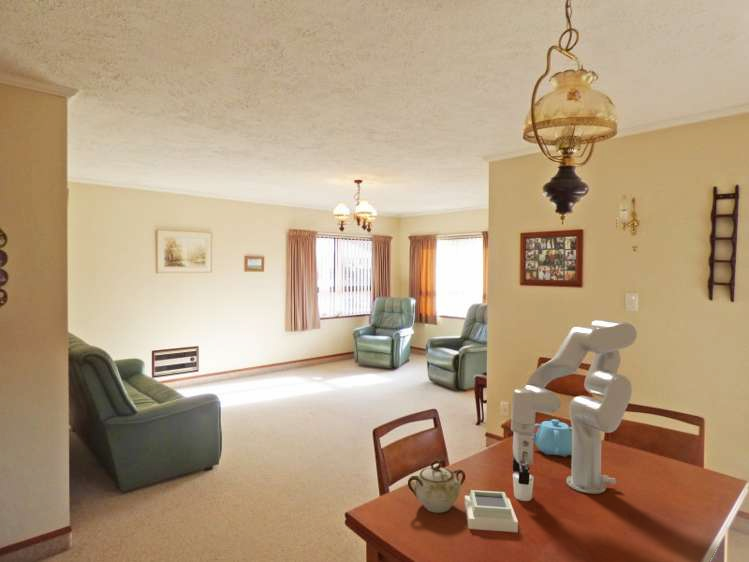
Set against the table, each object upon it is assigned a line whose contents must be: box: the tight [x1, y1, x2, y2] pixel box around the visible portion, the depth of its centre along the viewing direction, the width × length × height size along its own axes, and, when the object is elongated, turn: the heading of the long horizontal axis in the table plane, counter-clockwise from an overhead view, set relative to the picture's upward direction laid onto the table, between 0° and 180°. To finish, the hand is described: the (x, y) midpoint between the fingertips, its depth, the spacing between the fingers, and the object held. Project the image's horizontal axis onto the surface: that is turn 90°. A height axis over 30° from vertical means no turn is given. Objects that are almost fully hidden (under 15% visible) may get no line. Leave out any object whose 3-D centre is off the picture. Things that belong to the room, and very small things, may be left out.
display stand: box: [464, 489, 519, 533], centre depth 137 cm, size 14×14×6 cm
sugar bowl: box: [407, 459, 466, 514], centre depth 144 cm, size 20×15×15 cm
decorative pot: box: [532, 418, 572, 458], centre depth 190 cm, size 16×16×14 cm
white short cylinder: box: [512, 472, 535, 502], centre depth 151 cm, size 7×7×7 cm
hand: (520, 477), depth 151 cm, fingers open, 9 cm apart
